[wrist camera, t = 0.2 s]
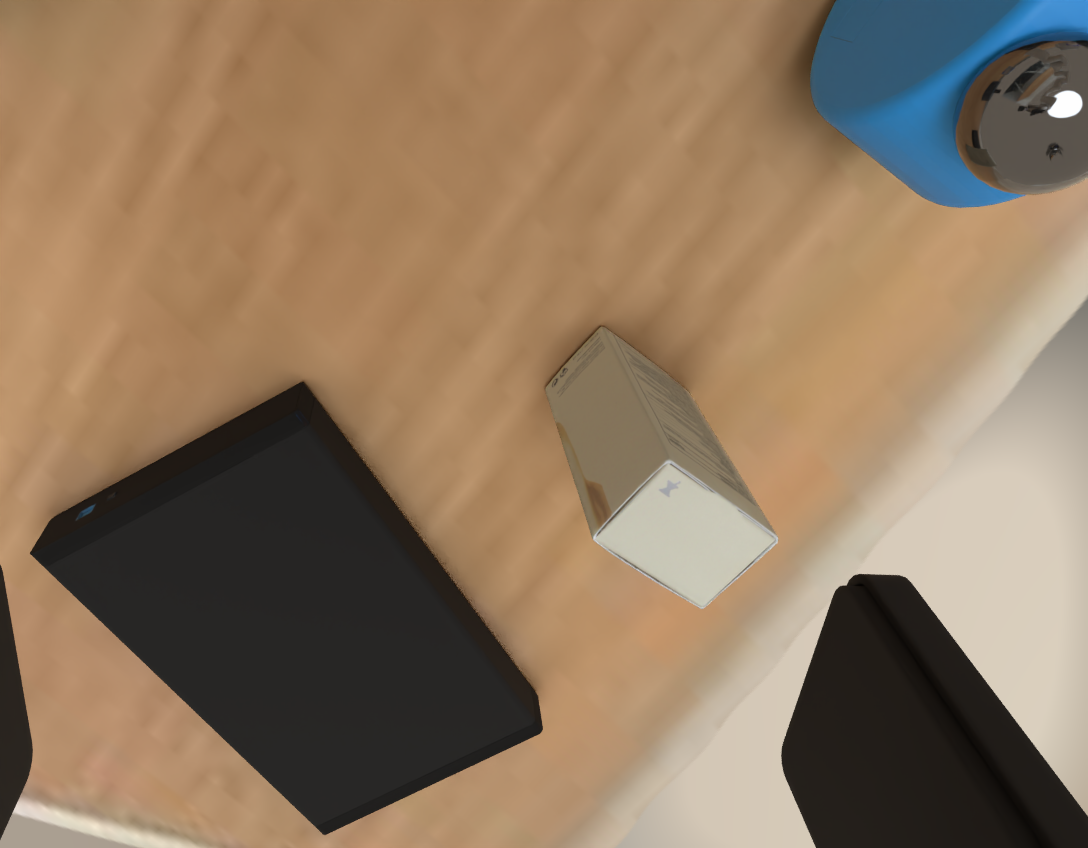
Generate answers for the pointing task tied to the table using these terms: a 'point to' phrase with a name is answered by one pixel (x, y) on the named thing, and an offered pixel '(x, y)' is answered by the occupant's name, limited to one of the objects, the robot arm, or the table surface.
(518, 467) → the table surface
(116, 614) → the external hard drive
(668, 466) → the cosmetic box
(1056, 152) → the alarm clock
